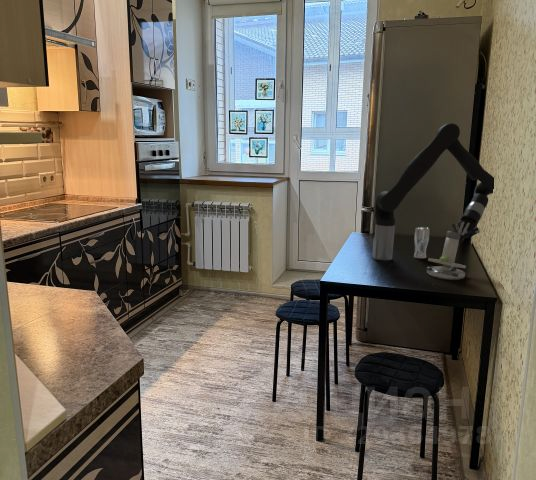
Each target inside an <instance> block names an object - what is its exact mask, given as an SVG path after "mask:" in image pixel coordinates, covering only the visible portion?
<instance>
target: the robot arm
mask: <svg viewBox="0 0 536 480" xmlns="http://www.w3.org/2000/svg"><path fill="white" fill-rule="evenodd" d="M460 134H461V130H460V127H459V126H458V125H457V124H456V123H454V122H453V123H451V122H450V123H445V124H443V125H442V126H440V127H439V128H438V129H437V131H436V136H435V137H434V138H433V139H432V141H431V142H429V144H428V145H427V146H426V147H424V148H423V149H422V150H421V151H419V152H418V153H417V154H416V155H415V157H413V158H412V159H411V160H410V162H409V163H408V164H407V165H406V166H405V168H404V169H403V171H402V173H401V175H400V177H399V179H398V181H397V182H396V184H395V185H394V186H393V187H392V188H391V189H389V190H388V191H386V190H385V191H381V192H380V193H379V194H377V196H376V198H375V206H374V209H375V211H374V218H375V227H374V230H375V231H374V237H373V240H372V250H371V251H372V252H371V253H372V255H371V257H372V258H373V259H374V260H378V261H391V260H393V254H394V253H393V252H394V249H393V248H394V239H395V227H396V219H395V215H394V211H395V210H396V209H397V208H398V207H399V206H400V204H401V203H402V202H403V200H404V199H405V198H406V197H407V195H408V193H409V192H410V191H411V190H412V189H414V187H416V185H417V184H418V183H419V182H420V181H421V180H422V179H423V178H424V176H425V175H427V173H428V172H429V171H430V169H431V168H432V167H433V166H434V164H435V163H436V162H437V161H438V159H439V158H440V156H441V155H442V154H443V153H444V152H445V151H448V152H449V153H450V154H451V156H453V157H454V158H455V160H456V161H457V163H459V165H460V166H461V167H462V169H463V171H464V172H465V173H466V174H467V176H468V177H469V178H470V180H472V181H479V183H478V184H476V186H475V187H474V190H473V196H472V198H471V200H470V203H469V204H468V205H467V207H466V208H465V211H464V212H463V214H462V215H461V218H460V220H459V221H458V222H457V223H452V224H451V226H452V228H453V232H457V233H461V235H460V239H459V244H458V245H461V244H462V243H463V241H464V240H465V239H466V238H467V239H470V238H472V237H473V236H476V235H477V234H479V233H480V229H479V227H478V224H479V222H480V220H481V219H482V217H483V214H484V213H485V212H484V211H485V210H486V208H487V205H488V204H489V197H488V196H489V195H492V194H494V193H493V189H494V178H495V177H494V176H493V175H492V174H490V173H489V172H488V171H487V170H485V169H484V167H483V166H482V165H481V163H480V161H478V160H477V158H475V157H474V155H473V154H472V153H470V152H469V151H468V150H467V149H466V148H465V147H464V146H463V145H462V143H461V142H460V140H459V137H460Z"/></svg>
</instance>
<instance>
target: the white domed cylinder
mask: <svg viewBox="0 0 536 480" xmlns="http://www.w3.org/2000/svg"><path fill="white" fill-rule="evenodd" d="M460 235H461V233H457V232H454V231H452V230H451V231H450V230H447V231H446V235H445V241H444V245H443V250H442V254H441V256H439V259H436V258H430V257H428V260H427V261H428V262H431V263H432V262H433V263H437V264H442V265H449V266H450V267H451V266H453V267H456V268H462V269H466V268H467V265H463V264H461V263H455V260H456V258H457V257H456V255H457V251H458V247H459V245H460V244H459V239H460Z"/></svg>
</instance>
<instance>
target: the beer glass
mask: <svg viewBox="0 0 536 480" xmlns="http://www.w3.org/2000/svg"><path fill="white" fill-rule="evenodd" d="M429 241H430V228H429V227H425V226H416V227H415V230H414V254H413V258H416V259H419V260H420V259H422V260H423V259H427V247H428V244H429Z"/></svg>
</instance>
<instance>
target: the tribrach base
mask: <svg viewBox="0 0 536 480" xmlns="http://www.w3.org/2000/svg"><path fill="white" fill-rule="evenodd" d="M427 273H428V274H429V276H430V275H431V276H430V277H432V278H436V277H437V278H436V279H441V280H446V281H447V280H451V281H457V280H463V279H465V278H466V272H465V271H464V270H461V269H459V268H457V267H453V266H449V265H445V264H442V265H441V266H440V265H439V266H438V265H437V266H426V274H427ZM428 274H427V275H428Z"/></svg>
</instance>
